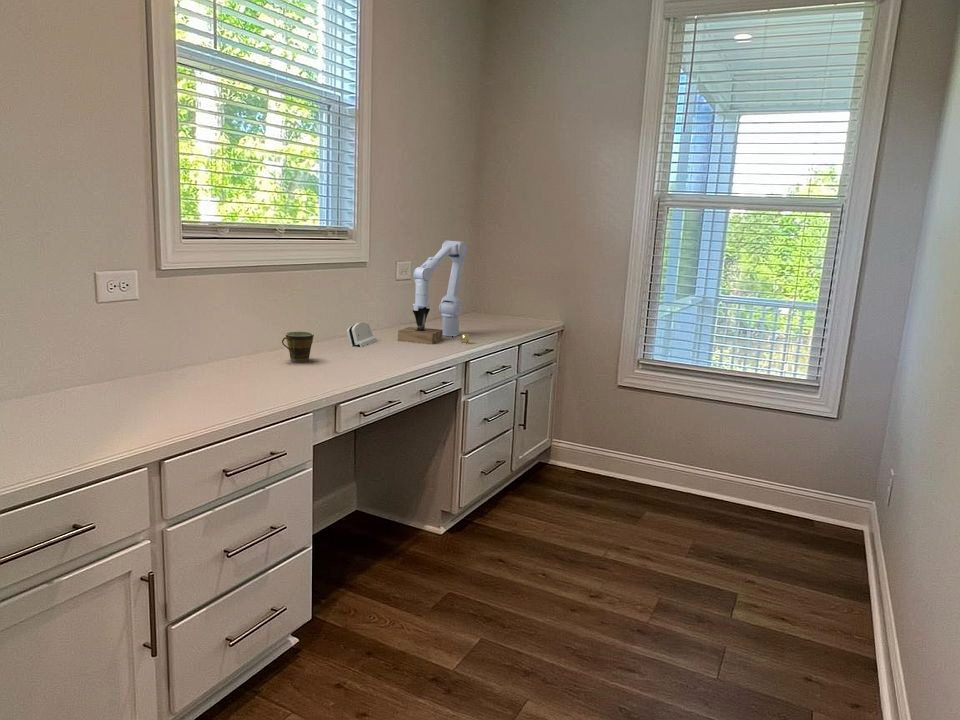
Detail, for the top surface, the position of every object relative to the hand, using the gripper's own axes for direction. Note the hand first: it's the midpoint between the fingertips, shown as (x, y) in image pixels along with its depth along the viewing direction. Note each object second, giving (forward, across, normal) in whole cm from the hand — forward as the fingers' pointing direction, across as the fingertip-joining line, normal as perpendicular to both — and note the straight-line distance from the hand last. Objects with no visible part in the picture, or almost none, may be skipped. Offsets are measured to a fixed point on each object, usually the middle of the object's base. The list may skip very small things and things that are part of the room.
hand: (420, 324), depth 308 cm
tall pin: (+3, 0, 0) cm, 4 cm away
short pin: (+7, -3, +20) cm, 21 cm away
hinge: (+7, +21, -19) cm, 29 cm away
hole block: (+7, 0, 0) cm, 7 cm away
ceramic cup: (+7, +65, -24) cm, 70 cm away
